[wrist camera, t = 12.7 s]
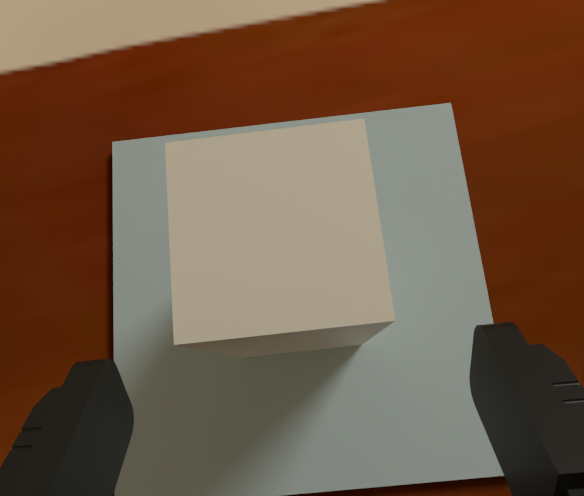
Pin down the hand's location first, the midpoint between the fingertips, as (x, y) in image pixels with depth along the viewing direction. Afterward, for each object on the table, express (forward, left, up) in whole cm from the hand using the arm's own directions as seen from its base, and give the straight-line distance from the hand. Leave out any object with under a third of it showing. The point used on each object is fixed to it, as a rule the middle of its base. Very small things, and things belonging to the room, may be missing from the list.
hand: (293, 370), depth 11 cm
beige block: (+2, -2, -10) cm, 10 cm away
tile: (+2, -2, -10) cm, 11 cm away
